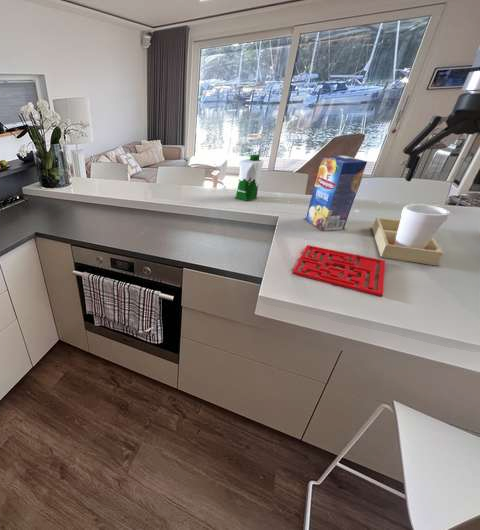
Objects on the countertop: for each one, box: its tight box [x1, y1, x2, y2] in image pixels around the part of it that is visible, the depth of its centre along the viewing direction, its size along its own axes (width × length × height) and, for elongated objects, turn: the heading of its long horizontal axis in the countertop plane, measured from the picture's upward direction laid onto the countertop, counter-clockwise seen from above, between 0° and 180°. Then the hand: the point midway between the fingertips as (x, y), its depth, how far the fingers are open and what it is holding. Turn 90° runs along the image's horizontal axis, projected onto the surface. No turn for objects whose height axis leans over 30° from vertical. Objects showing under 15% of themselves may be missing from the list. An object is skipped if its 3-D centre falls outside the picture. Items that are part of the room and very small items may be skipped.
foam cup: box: [394, 203, 451, 249], centre depth 85 cm, size 10×9×13 cm
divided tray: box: [371, 217, 444, 266], centre depth 92 cm, size 12×24×4 cm, turn 148°
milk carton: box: [235, 154, 265, 202], centre depth 138 cm, size 9×9×20 cm
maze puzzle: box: [292, 244, 386, 297], centre depth 83 cm, size 20×20×1 cm
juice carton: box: [305, 154, 368, 231], centre depth 105 cm, size 12×8×24 cm, turn 179°
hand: (440, 181), depth 79 cm, fingers open, 13 cm apart
